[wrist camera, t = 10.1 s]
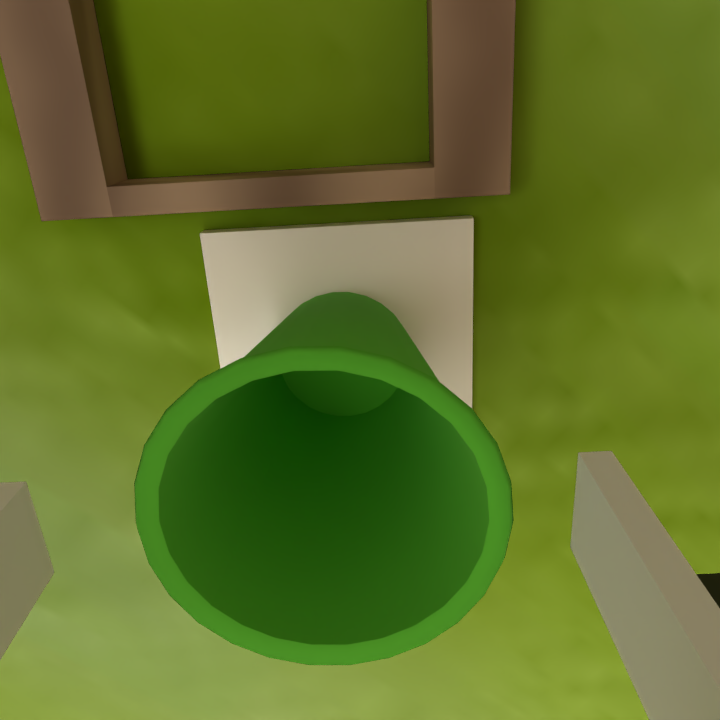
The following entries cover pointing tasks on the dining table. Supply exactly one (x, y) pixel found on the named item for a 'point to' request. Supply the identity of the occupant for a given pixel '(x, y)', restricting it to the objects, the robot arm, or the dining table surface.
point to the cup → (325, 493)
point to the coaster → (349, 282)
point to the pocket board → (249, 189)
